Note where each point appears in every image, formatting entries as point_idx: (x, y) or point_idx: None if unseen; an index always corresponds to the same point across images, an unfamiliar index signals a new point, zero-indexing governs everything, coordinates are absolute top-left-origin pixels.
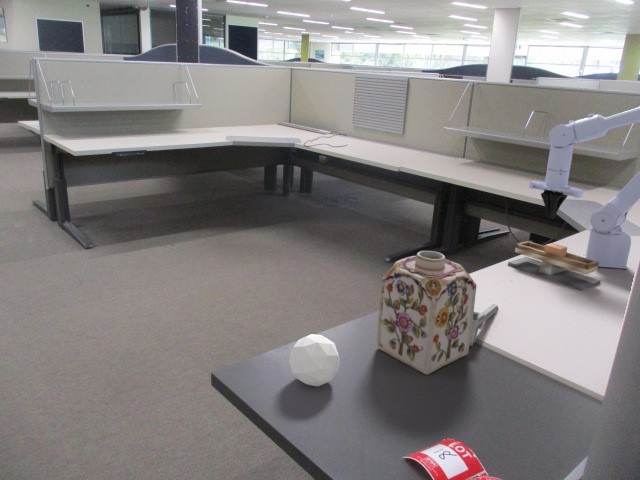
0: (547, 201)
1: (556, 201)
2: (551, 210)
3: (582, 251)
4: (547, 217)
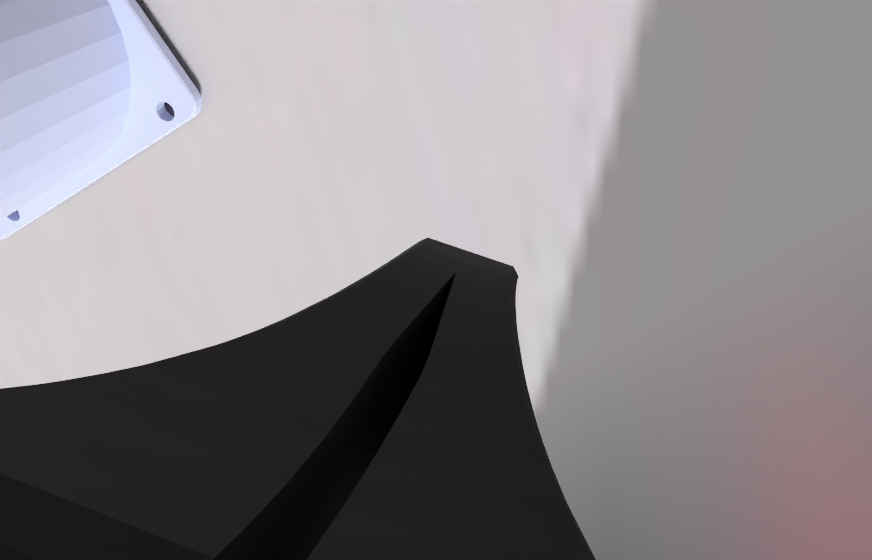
0: (411, 464)
1: (57, 393)
2: (350, 301)
3: (269, 301)
4: (485, 260)
